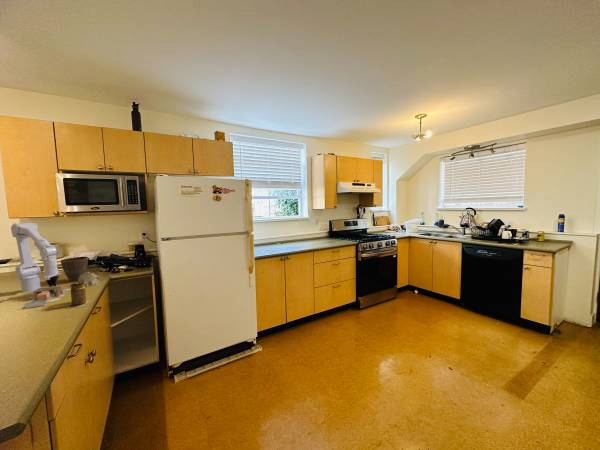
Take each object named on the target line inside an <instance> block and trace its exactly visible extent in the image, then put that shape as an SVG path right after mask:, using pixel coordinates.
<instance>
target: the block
mask: <svg viewBox="0 0 600 450" xmlns="http://www.w3.org/2000/svg"><path fill="white" fill-rule="evenodd" d="M44 292H45V293H40V294H38V295H37V300H42V299H48V298H49V297H50V292H46V291H44Z"/></svg>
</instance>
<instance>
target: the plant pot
mask: <svg viewBox="0 0 600 450" xmlns="http://www.w3.org/2000/svg"><path fill="white" fill-rule="evenodd" d="M60 263H61V267H62V270H63V272H64V274H65V276H66V278H67V279H68V281H69V282H70V283H75V282H79V281H78V279H79V277H80V276H81V275H82V274H83V273H86V272H87V268H88V264H89V257H88V256H76V257H75V256H74V257H68V258H63V259H61V260H60Z"/></svg>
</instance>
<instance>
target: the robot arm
mask: <svg viewBox="0 0 600 450" xmlns="http://www.w3.org/2000/svg"><path fill="white" fill-rule="evenodd" d="M38 229H39V228H38V224H37V223H35V222H23V223H22V222H20V223H13V224H12V225H11V227H10V230H11V231H10V232H11V235H12V238H15V240H16V244H17V250H18V254H19V259H20V264H18V265H17V266H16V267H15V269H14V270H15V272H14V274H15V277H16V279H18V280H20V287H21V292H22V293H27V292H34V291H35V290H37V289H38V288H44V287H42V286H41V280H40V277H39V275H41V271H42V270H41V268H40V266H39V264H38V263H36V262H33V257H32V251H31V248H30V247H31V246H30V242H29V238H31V239H32V240H33V241H34V243H33V244H34V246H35V247H36V249H38V251H39V256H40V257H41V261H43V262H42V263H43V269H44V270H43V271H44V276H43V277H44V278H43V280H44V281H46V283H47V284H48V286H50V285H54V286H57V282H58V280H59V277H60V275H61V272H59V270H58V263H57V262H58V259H57V256H58V254H59V250H58V248H57V246H54V245H51V243H50V242H49V241H48V240H47V239H46V238H44V237H42V236H41V235H40V233H39V230H38Z"/></svg>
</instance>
